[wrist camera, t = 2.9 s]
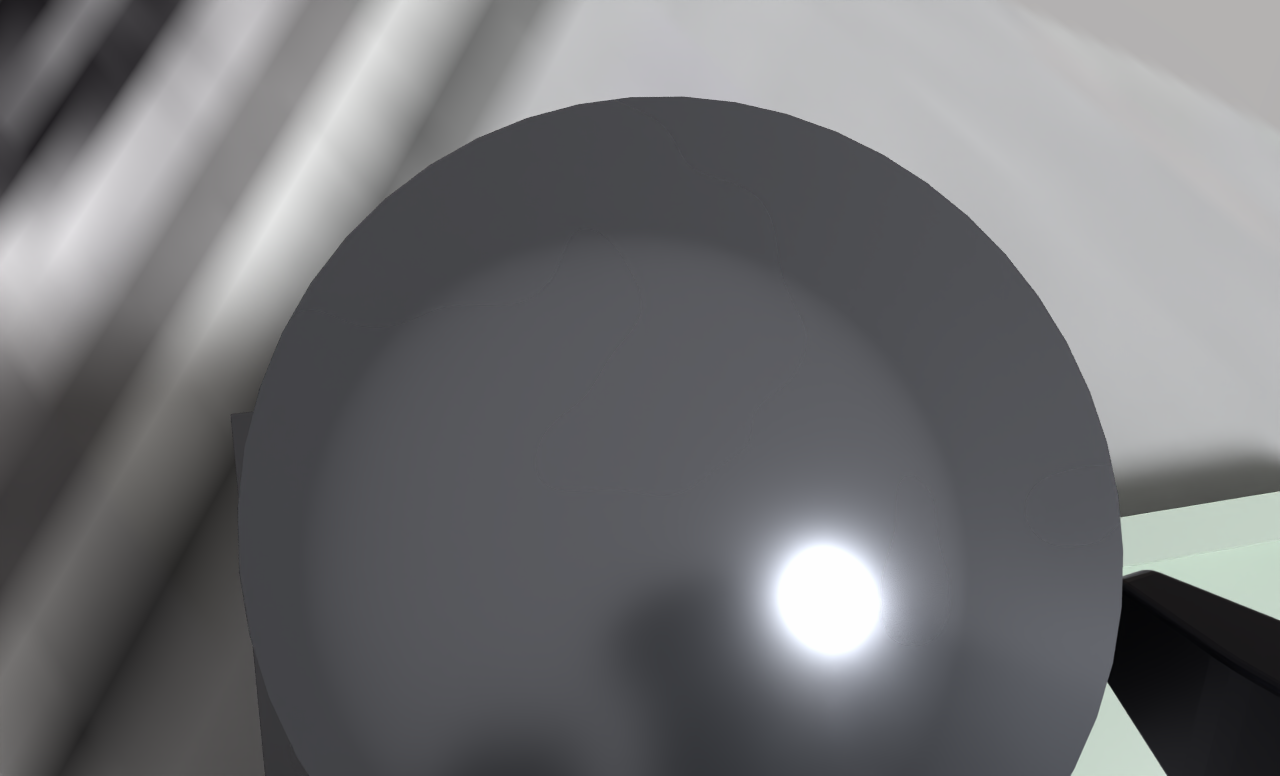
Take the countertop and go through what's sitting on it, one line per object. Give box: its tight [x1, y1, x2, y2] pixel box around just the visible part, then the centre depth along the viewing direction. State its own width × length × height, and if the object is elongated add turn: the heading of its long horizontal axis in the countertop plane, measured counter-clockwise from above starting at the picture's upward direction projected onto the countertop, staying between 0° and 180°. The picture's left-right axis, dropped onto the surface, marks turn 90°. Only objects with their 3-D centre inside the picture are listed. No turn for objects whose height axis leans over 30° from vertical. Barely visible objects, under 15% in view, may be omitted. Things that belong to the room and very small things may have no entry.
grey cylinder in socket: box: [231, 97, 1123, 776], centre depth 12 cm, size 7×7×14 cm
